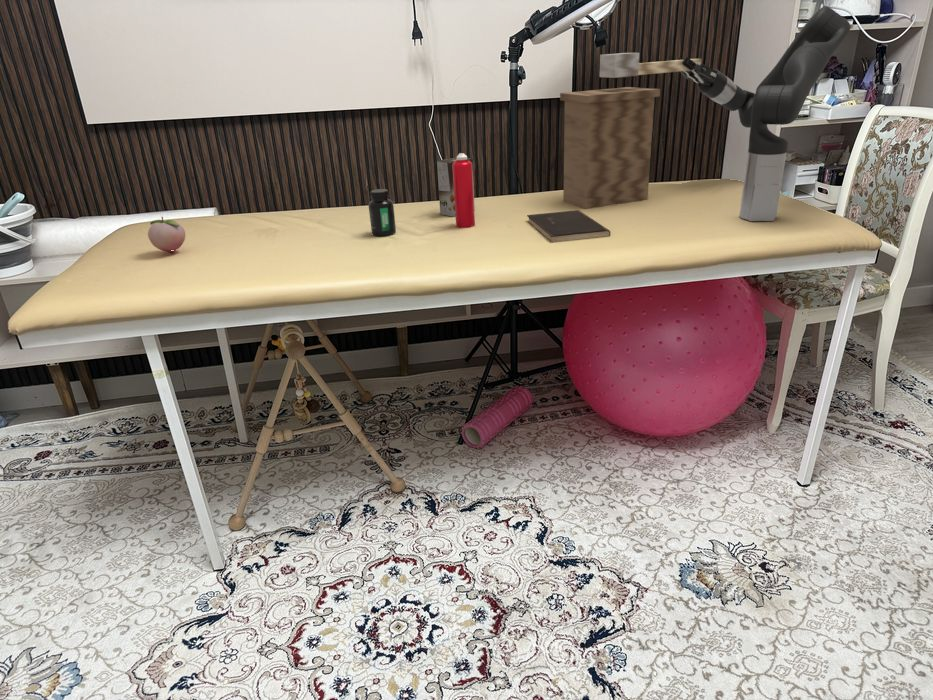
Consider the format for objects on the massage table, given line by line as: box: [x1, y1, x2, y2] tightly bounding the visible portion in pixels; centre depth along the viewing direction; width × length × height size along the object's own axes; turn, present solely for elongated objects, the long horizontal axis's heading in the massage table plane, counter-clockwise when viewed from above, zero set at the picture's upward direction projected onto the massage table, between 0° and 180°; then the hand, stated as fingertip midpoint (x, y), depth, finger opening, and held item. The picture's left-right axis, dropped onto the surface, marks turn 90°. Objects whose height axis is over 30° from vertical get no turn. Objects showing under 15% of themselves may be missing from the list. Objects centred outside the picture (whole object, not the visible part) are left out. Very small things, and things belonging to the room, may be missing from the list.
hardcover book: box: [526, 209, 611, 243], centre depth 172 cm, size 16×23×2 cm
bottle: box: [452, 152, 476, 229], centre depth 177 cm, size 5×6×20 cm
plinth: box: [559, 86, 661, 210], centre depth 193 cm, size 24×16×32 cm, turn 111°
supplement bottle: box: [368, 188, 397, 238], centre depth 175 cm, size 7×7×12 cm
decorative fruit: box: [147, 216, 186, 254], centre depth 169 cm, size 9×8×10 cm
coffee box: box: [436, 157, 476, 218], centre depth 192 cm, size 9×6×16 cm
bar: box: [599, 52, 703, 79], centre depth 187 cm, size 32×8×6 cm, turn 111°
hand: (680, 60), depth 190 cm, fingers closed on bar, 3 cm apart
